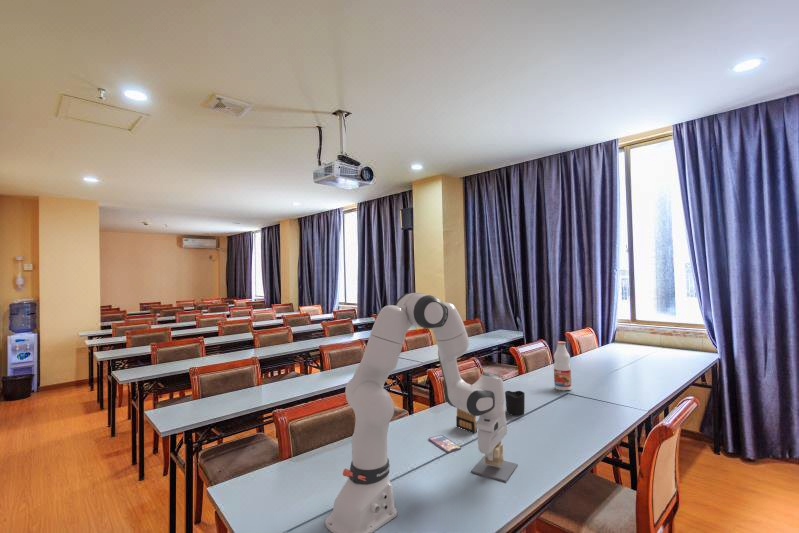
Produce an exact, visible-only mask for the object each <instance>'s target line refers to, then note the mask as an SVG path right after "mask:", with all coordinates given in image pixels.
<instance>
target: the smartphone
mask: <svg viewBox="0 0 799 533" xmlns="http://www.w3.org/2000/svg"><path fill="white" fill-rule="evenodd" d="M429 440H430V441H429ZM428 441H429V442H431V443H432V444H434V445H435V446H436V445H437V447H438V448H439V449H441V450H442V451H443V452H444V453H448V454H450V453H454V452H456V451H460V450H462V446H461V445H459V444H457V443H456V442H454V441H452V440H450V439H449V438H448V437H446V436H445V435H442V434H438V435H435V436H431V437H429V438H428Z"/></svg>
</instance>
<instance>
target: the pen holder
mask: <svg viewBox="0 0 799 533" xmlns="http://www.w3.org/2000/svg"><path fill="white" fill-rule="evenodd" d="M504 395H505V411H506V413H507V414H508V413H509V414H508V415H510V414H512V415H511V416H515V415H520V416H523V415H524V414H525V409H526V408H525V402H526V401H525V397H526V396H525V392H524V391H522V390H517V391H511V390H506V391H504ZM522 414H523V415H522Z"/></svg>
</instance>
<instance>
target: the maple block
mask: <svg viewBox="0 0 799 533" xmlns="http://www.w3.org/2000/svg"><path fill="white" fill-rule="evenodd" d="M493 454H494V459H493V460H492V461H491V460H488V454H484V456H485V463H486V464H490V465H493V466H497V467H499V466H500V465H501V463H502V462H503V460H504V445H503V444H502V443H501V444H499V443H498V444H497V446H496V447H495V448H494V449H493Z"/></svg>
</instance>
